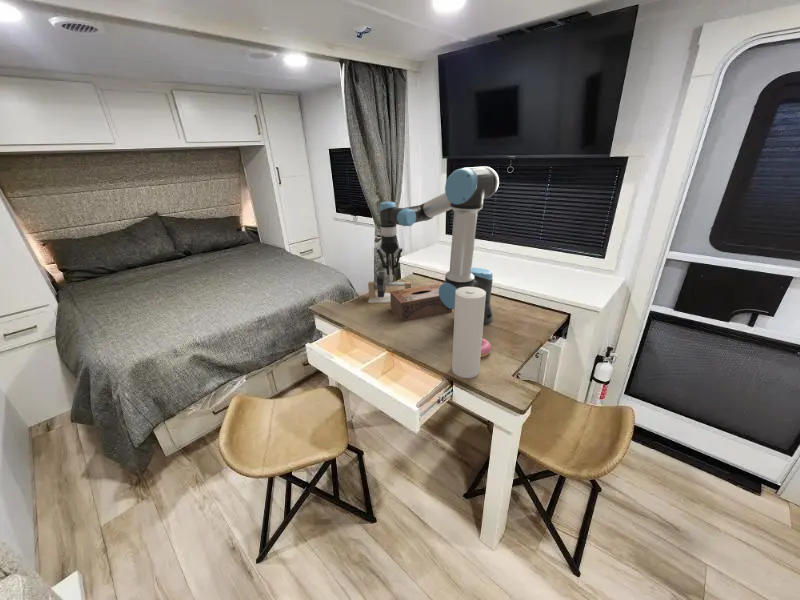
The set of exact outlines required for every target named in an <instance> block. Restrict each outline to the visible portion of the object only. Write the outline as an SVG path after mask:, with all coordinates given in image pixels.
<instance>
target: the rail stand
mask: <svg viewBox="0 0 800 600" xmlns="http://www.w3.org/2000/svg"><path fill="white" fill-rule="evenodd" d="M367 285H368V289H367V290H368V302H367V304H391V298H390V292H385V294H384V297H378V292H376V287H377V282H375V281H368V284H367ZM384 286H385V287H404V289H408V288H412V281H403V282H401V281H398V282H395V281H393V282H390V281H388V282H386V281H385V283H384Z"/></svg>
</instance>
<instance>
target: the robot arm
mask: <svg viewBox="0 0 800 600" xmlns="http://www.w3.org/2000/svg"><path fill="white" fill-rule="evenodd" d="M499 179H500V177H499V175H498V173H497V172H496V171H495V170H494V169H493V168H491V167H490V166H485V165H484V166H473V167H471V166H470V167H469V166H467V167H465V166H464V167H462V168H458V169H455V170H454V171H453V172H451V174H450V175H449V176H448V177H447V178H446V181H445V186H444V193H441V194H440V195H438V196H435V197H434V198H431V199H429V200H427V201H426V202H423V203H420V204H418V205H413V206H408V207H407V206H406V207H397V206H396V202H394V201H383V202H380V203H379V217H380V219H379V220H380V221H379V222H380V233H381V237H380V239H381V245H380V247H379V248H377V250H376V252H377V254H378V255H379V258H380V263H381V265H382V267H383V269H386V275H387V276H388V277H389V282H394V281H393V280H394V279H393V278H394V277H393V276H394V275H395V272H396V271H395V269H396V268H398V267H399V262H400V258H401V254H402V252H403V249H404V248H402V247H399V244H398V236H397V232H398V231H397V230H398V229H397V225H399V226H402V227H411V226H413V225H414V224H415V223H420V222H426V221H429V220H432V219H433V218H434V217H436V216H439V215H441V214H443V213H445V212H448V211H450V210H452V211H453V222H452V234H451V235H452V236H451V247H450V261H449V270H448V271H447V272H446V273H445V276H444V277H445V278H444V283H443V282H442V283H441V284H440V285H441V286H440V287H439V297H440V299H441V301H442V302H443V304H444V305H445V306H447V307H448V308H450V309H452V310H455V291H456V290H457V289H458V288H461V287H477V288H480V289H483V290H484V291H485V292H486V299H485V311H484V322H483V325H487V324H489V323H492V321H493V319H494V312H493V309H492V306H491V305H492V304H491V300H492V299H491V298H492V287H493V272H492V271H491V270H489V269H486V268H482V267H472V266H473V257H474V248H475V241H476V240H475V239H476V231H477V222H478V221H477V220H478V213H479V211H481V210H482V209H483V206H484V200H486V199H489V198H490V197H491V198H492V196H494V194H495V193H496V192H497V190H498V188H499V185H500V180H499ZM383 252H384V254H385V258H384V255H383ZM396 252H398V253H397V255H396V261H395V253H396ZM390 258H391V259H390ZM390 260H391V267H390ZM385 261H386V262H385Z"/></svg>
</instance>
